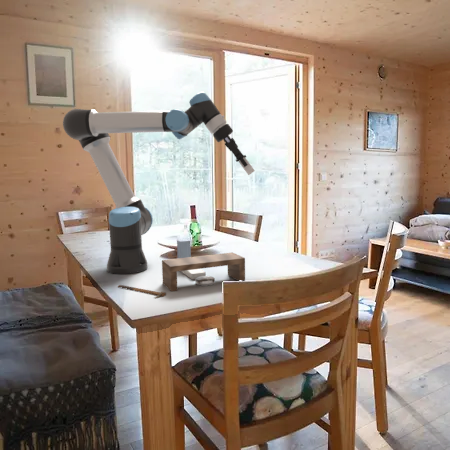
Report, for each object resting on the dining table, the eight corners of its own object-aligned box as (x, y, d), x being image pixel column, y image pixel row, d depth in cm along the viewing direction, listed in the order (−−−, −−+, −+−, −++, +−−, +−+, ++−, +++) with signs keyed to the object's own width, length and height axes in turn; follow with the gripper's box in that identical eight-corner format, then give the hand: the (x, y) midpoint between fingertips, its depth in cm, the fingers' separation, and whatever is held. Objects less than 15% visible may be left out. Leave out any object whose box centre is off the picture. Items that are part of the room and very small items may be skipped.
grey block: (192, 279, 146) (191, 248, 144) (176, 268, 162) (175, 240, 161) (205, 277, 148) (204, 247, 146) (189, 266, 164) (188, 238, 163)
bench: (171, 291, 133) (170, 266, 132) (162, 283, 142) (161, 260, 141) (245, 281, 143) (244, 257, 142) (232, 274, 152) (232, 252, 151)
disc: (199, 287, 137) (199, 282, 137) (193, 282, 143) (192, 277, 143) (217, 285, 140) (217, 279, 140) (210, 280, 146) (210, 275, 146)
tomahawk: (105, 295, 134) (104, 291, 134) (122, 287, 140) (121, 283, 140) (150, 304, 124) (150, 300, 123) (166, 295, 129) (166, 291, 129)
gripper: (225, 119, 151) (259, 167, 153) (229, 125, 176) (259, 167, 177) (208, 132, 152) (242, 179, 154) (215, 136, 177) (245, 177, 178)
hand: (251, 173), depth 166 cm, fingers open, 13 cm apart
